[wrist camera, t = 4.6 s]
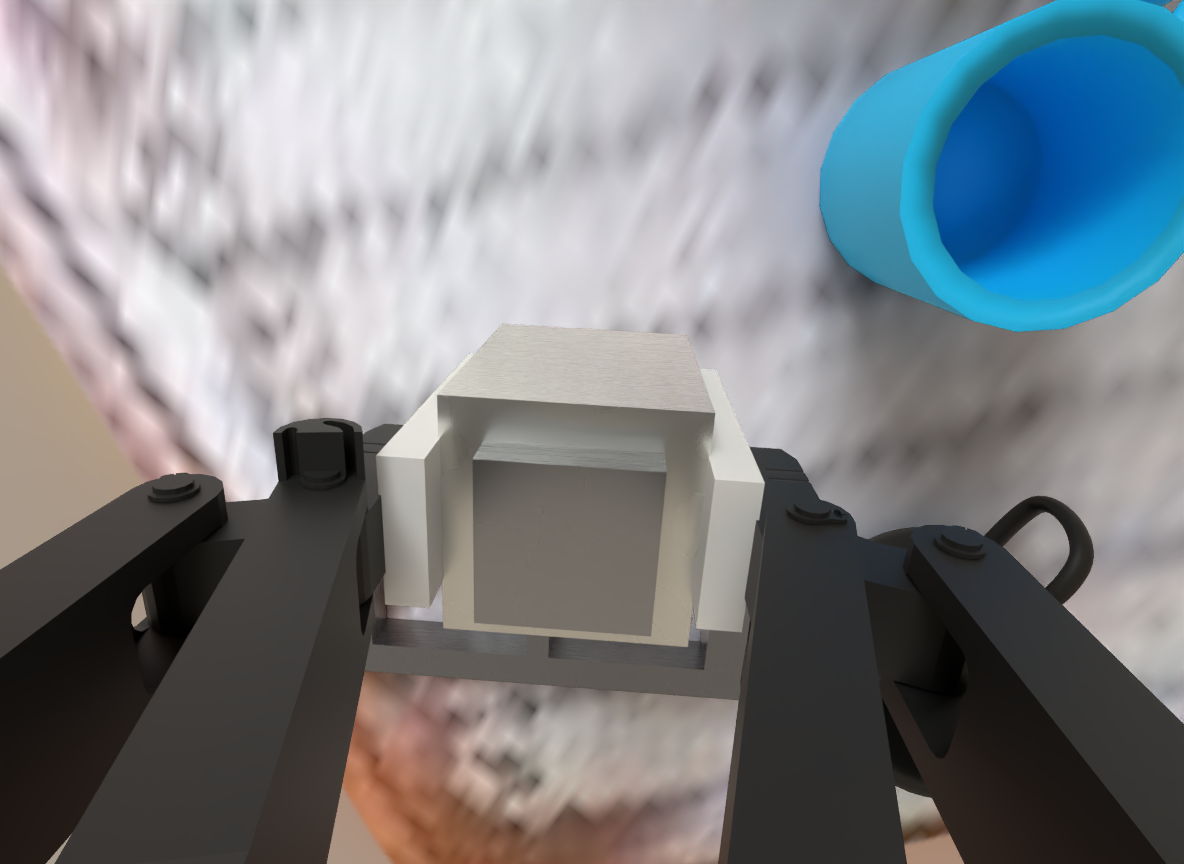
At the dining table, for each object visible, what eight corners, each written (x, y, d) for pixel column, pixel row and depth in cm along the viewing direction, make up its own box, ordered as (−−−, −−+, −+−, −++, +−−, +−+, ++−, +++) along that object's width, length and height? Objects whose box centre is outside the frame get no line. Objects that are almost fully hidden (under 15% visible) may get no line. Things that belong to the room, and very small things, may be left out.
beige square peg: (502, 323, 17) (422, 410, 10) (687, 335, 17) (722, 429, 10) (501, 491, 18) (431, 656, 12) (670, 503, 18) (691, 676, 12)
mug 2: (917, 708, 33) (990, 838, 27) (761, 625, 32) (796, 740, 26) (1097, 516, 30) (1233, 613, 23) (927, 415, 29) (1019, 485, 22)
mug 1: (918, 333, 27) (1031, 390, 20) (772, 191, 26) (833, 194, 18) (1189, 75, 24) (1453, 24, 16) (1039, -104, 22) (1252, -255, 15)
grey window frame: (332, 451, 30) (313, 468, 28) (767, 480, 30) (776, 500, 28) (348, 641, 34) (331, 668, 32) (738, 671, 33) (744, 700, 31)
